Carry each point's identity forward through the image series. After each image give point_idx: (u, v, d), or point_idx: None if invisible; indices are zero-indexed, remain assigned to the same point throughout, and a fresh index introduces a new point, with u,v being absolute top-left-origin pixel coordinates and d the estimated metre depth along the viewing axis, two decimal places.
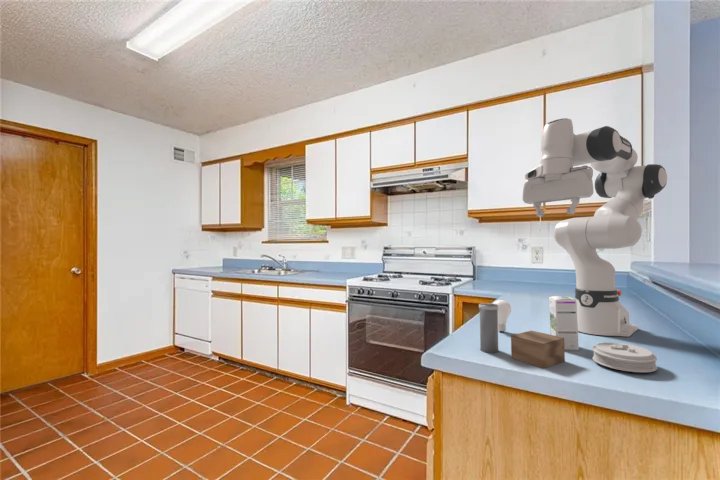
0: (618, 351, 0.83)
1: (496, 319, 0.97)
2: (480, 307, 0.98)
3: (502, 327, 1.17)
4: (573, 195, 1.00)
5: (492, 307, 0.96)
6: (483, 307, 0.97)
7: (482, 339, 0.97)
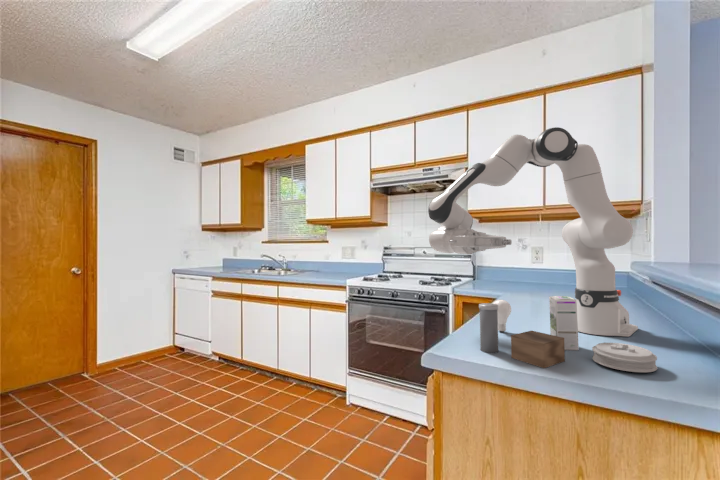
0: (618, 351, 0.83)
1: (496, 319, 0.97)
2: (480, 307, 0.98)
3: (502, 327, 1.17)
4: (474, 246, 1.10)
5: (492, 307, 0.96)
6: (483, 307, 0.97)
7: (482, 339, 0.97)
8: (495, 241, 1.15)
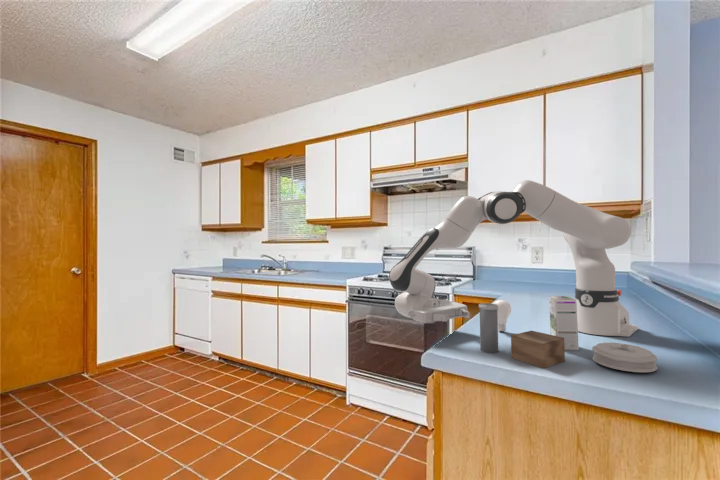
0: (618, 351, 0.83)
1: (496, 319, 0.97)
2: (480, 307, 0.98)
3: (502, 327, 1.17)
4: (432, 322, 1.10)
5: (492, 307, 0.96)
6: (483, 307, 0.97)
7: (482, 339, 0.97)
8: (455, 312, 1.15)
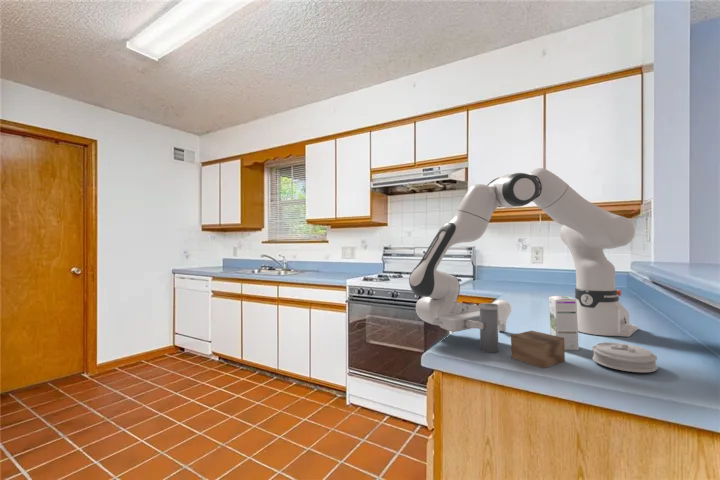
0: (618, 351, 0.83)
1: (496, 319, 0.97)
2: (480, 307, 0.98)
3: (502, 327, 1.17)
4: None
5: (492, 307, 0.96)
6: (483, 307, 0.97)
7: (482, 339, 0.97)
8: None
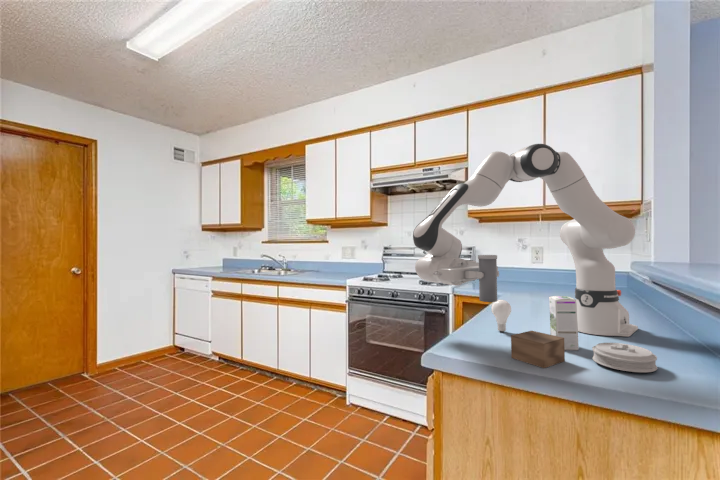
0: (618, 351, 0.83)
1: (495, 268, 0.97)
2: (479, 257, 0.98)
3: (502, 327, 1.17)
4: (461, 280, 0.99)
5: (491, 256, 0.96)
6: (482, 257, 0.97)
7: (481, 289, 0.98)
8: None
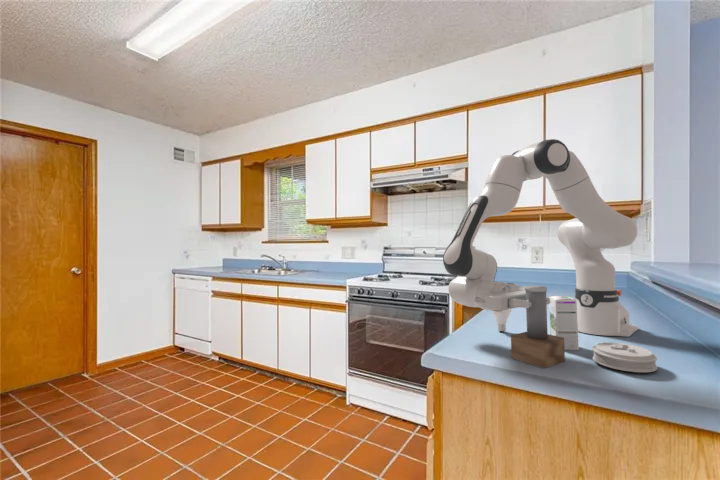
0: (618, 351, 0.83)
1: (545, 302, 0.88)
2: (527, 289, 0.89)
3: (502, 327, 1.17)
4: None
5: (541, 289, 0.87)
6: (531, 289, 0.88)
7: (530, 324, 0.89)
8: None
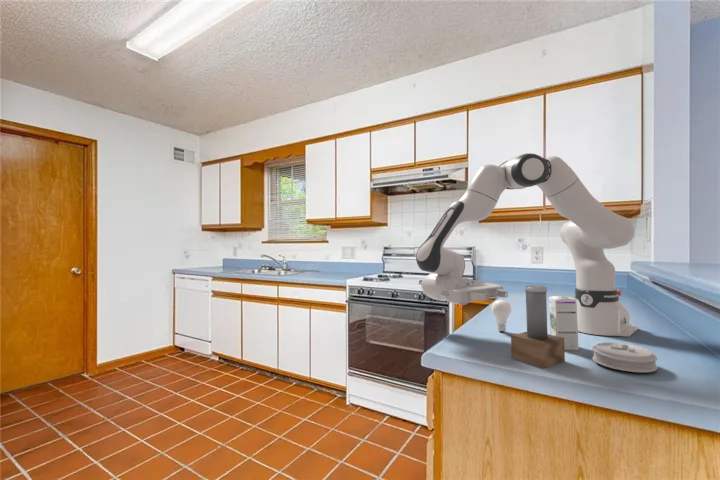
0: (618, 351, 0.83)
1: (545, 302, 0.88)
2: (527, 289, 0.89)
3: (502, 327, 1.17)
4: (467, 301, 1.02)
5: (541, 289, 0.88)
6: (531, 289, 0.88)
7: (530, 324, 0.89)
8: (491, 292, 1.07)
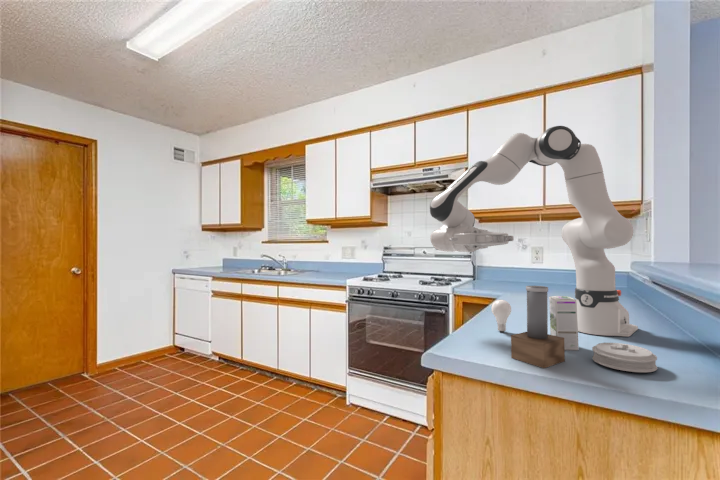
0: (618, 351, 0.83)
1: (546, 302, 0.88)
2: (528, 289, 0.90)
3: (502, 327, 1.17)
4: (475, 244, 1.08)
5: (542, 289, 0.88)
6: (532, 289, 0.89)
7: (530, 324, 0.89)
8: (497, 238, 1.13)
